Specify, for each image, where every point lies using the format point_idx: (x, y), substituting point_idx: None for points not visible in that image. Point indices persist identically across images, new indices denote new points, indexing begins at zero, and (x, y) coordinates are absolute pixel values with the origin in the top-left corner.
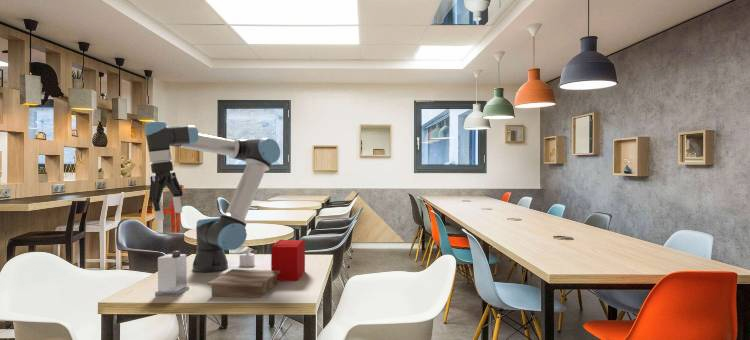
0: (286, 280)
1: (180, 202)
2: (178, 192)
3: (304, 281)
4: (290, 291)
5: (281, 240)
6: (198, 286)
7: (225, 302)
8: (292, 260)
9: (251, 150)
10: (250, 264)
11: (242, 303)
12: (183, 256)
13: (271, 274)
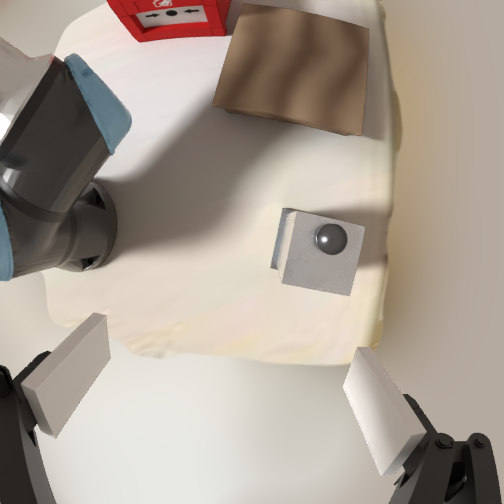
0: (227, 13)
1: (58, 353)
2: (5, 417)
3: None
4: (311, 4)
5: None
6: (259, 191)
7: (388, 102)
8: None
9: None
10: None
11: (391, 73)
12: (315, 215)
13: (282, 12)
